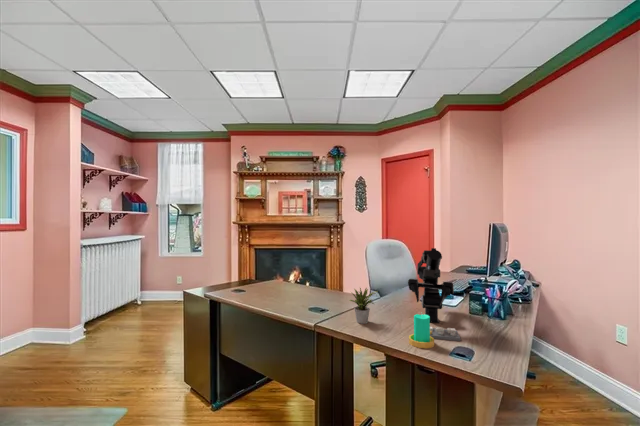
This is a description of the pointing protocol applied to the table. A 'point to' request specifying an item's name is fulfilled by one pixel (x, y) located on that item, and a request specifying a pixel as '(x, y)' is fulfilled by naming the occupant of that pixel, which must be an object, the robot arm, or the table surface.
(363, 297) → the house plant
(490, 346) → the table surface
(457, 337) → the breaker panel
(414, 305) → the table surface
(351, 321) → the table surface
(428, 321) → the candle
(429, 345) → the ring
